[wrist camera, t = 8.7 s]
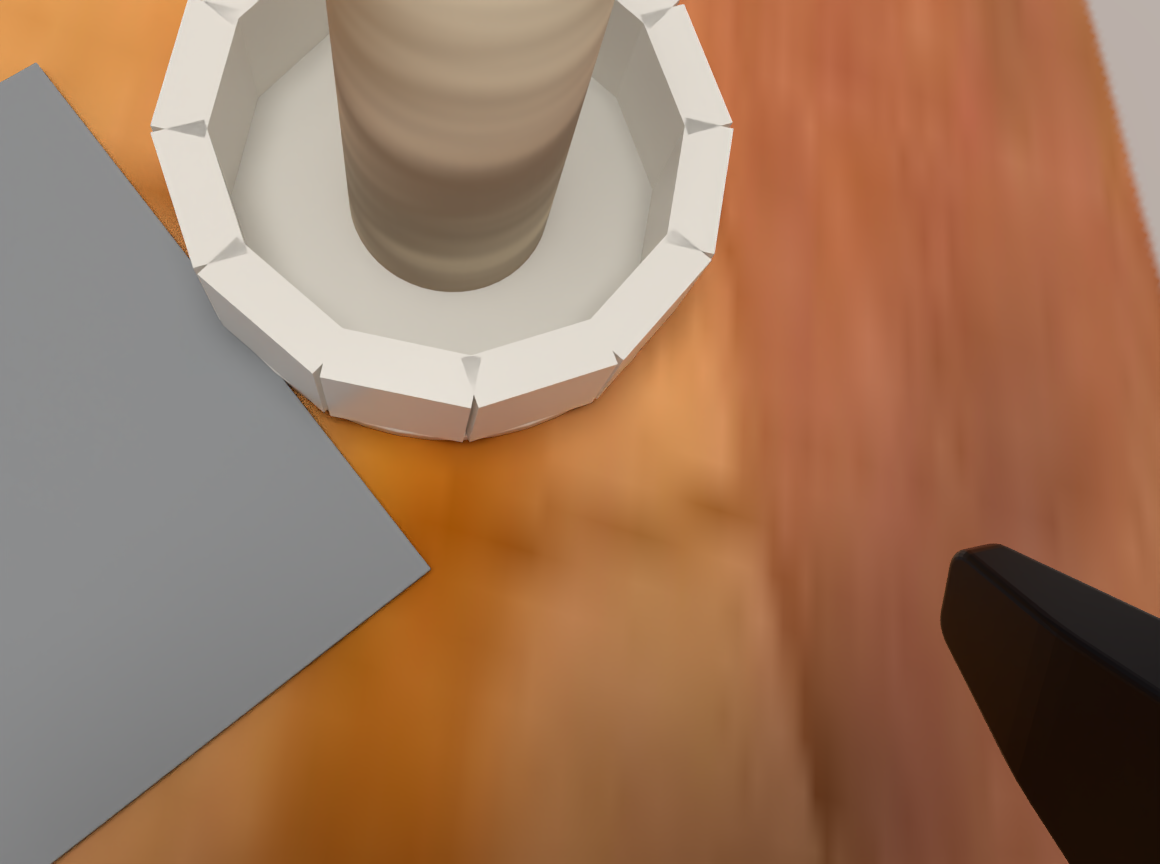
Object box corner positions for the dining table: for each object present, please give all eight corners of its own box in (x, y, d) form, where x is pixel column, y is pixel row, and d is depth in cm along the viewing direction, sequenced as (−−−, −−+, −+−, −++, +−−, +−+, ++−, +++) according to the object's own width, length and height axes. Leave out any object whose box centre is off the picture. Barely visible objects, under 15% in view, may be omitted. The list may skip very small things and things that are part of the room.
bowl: (774, 198, 26) (830, 124, 23) (470, 544, 23) (482, 520, 20) (427, -94, 27) (430, -212, 23) (85, 210, 24) (30, 129, 20)
